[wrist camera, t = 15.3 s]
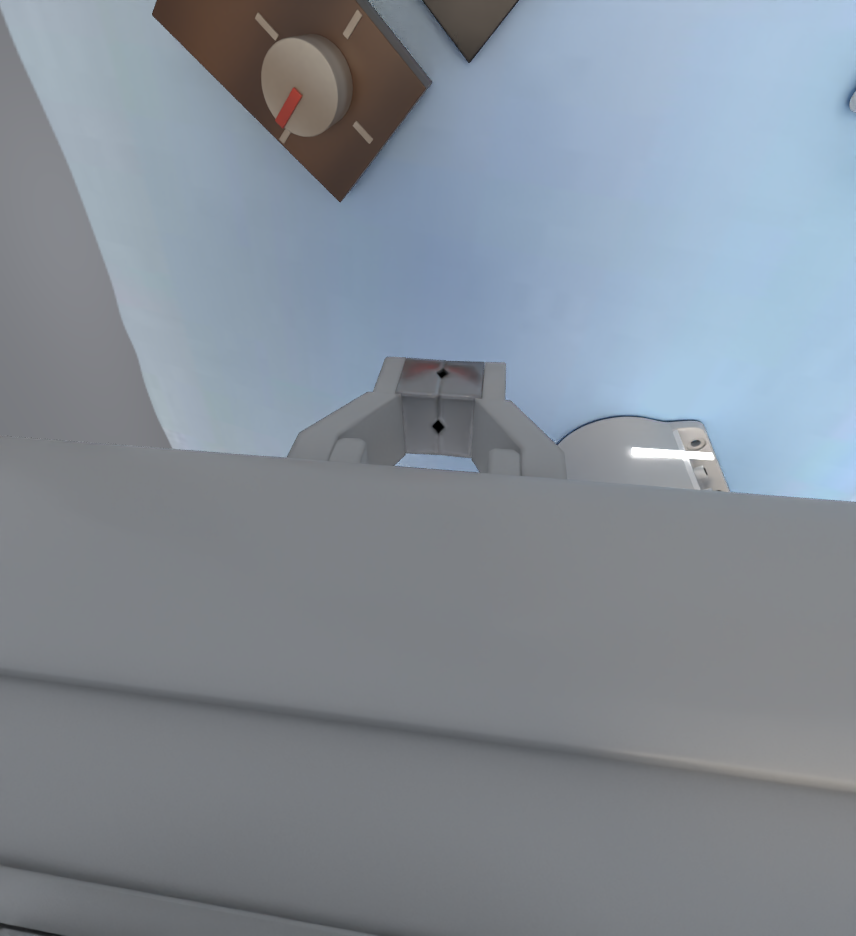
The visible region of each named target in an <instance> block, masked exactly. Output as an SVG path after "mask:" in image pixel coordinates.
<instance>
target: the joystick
mask: <svg viewBox="0 0 856 936" xmlns="http://www.w3.org/2000/svg"><path fill="white" fill-rule="evenodd" d="M849 106H850V109H851V110H852V111H853V112H856V91H855V93H854V94H853V96H852V98H851V100H850V105H849Z"/></svg>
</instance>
